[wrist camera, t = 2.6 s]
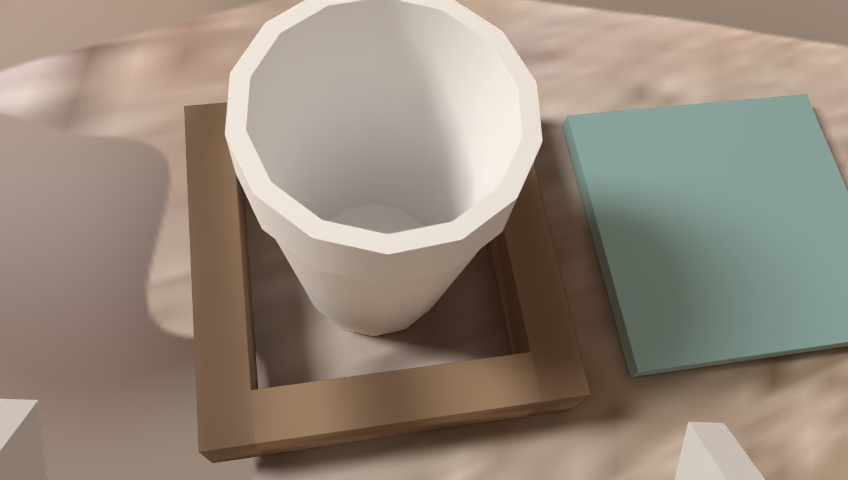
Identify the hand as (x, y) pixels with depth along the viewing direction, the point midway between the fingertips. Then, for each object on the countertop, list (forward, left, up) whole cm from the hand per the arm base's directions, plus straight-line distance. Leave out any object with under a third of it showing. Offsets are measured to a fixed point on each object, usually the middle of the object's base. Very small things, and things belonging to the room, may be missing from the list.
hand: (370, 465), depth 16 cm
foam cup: (-2, -11, -16) cm, 19 cm away
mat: (-19, -11, -16) cm, 27 cm away
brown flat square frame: (-2, -11, -16) cm, 19 cm away
